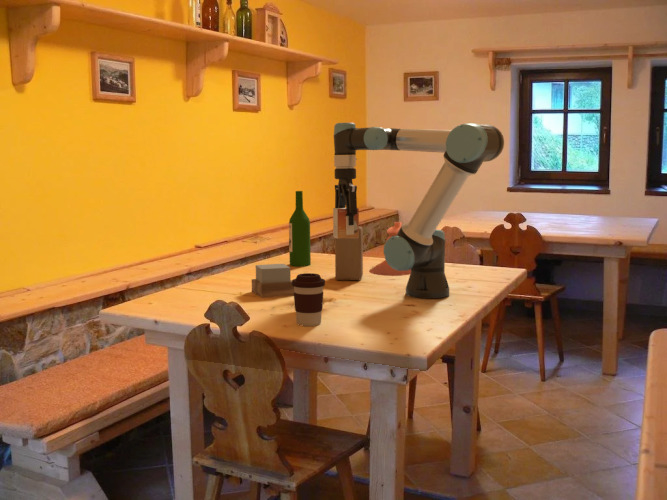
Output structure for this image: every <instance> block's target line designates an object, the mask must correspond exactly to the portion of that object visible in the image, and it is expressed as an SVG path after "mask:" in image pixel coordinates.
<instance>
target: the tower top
mask: <svg viewBox="0 0 667 500" xmlns="http://www.w3.org/2000/svg"><path fill="white" fill-rule="evenodd" d="M255 279H256V280H258V281H259V282H260V283H261V284H266V283H283V282H291V280H292V278H291V266H288V265H286V264H285V263H272V264H269V263H268V264H255Z"/></svg>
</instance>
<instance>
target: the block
mask: <svg viewBox="0 0 667 500" xmlns="http://www.w3.org/2000/svg"><path fill="white" fill-rule="evenodd" d="M363 229H364V228H363V226H361V225H359V238H339V239H337V238H334V253H335V255H334V262H335V263H334V265H335V269H334V270H335V271H334V273H335V275H334V276H335V277H334V278H335V280H337V281H361V280H362V278H363V275H364V271H363V270H364V258H363V257H364V255H363V252H364V249H363V248H364V245H363V243H364V240H363V236H364V235H363V234H364V233H363Z"/></svg>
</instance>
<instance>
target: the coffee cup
mask: <svg viewBox="0 0 667 500" xmlns="http://www.w3.org/2000/svg"><path fill="white" fill-rule="evenodd" d="M291 280H292V286H294V295H293V299H294V303H293V304H294V311H295V315H296V317H295V318H296V324H297V325H298V324H299V325H298V326H300V325H303V326H302V327H317V326H319V325H321V323H322V312H323V306H324V304H323V303H324V287H325V286H326V280H325V279H324V278H321V275H320V274H319V273H308V272H306V273H300V274H297V275H296V278H294V279H291ZM316 325H317V326H316Z"/></svg>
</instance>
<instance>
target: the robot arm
mask: <svg viewBox="0 0 667 500" xmlns="http://www.w3.org/2000/svg"><path fill="white" fill-rule="evenodd" d="M333 128H334V129H333V144H334V145H333V147H334V155H333V164H334V167H335V169H334V180H338V183H337V184H334V191H335V195H334V196H335V197H334V208H346V210H347V214H346V215H345V216H346V235H354V216H355V214H357V208H358V201H357V200H358V199H357V189H358V187H357V185H354V184H353V180H355V179H356V178H357V169H356V168H355V167H356V166H357V160H358V159H357V151H406V152H421V153H422V152H423V153H424V152H426V153H438V154H439V153H440V154H443V155H442V157H443V159H444V163H443V165H442V166H441V168H440V169H439V172H438V173H437V175H436V176H435V178H434V180H433V182H432V183H431V185H430V186H429V188H428V190H427V192H426V194H425V195H424V196H423V197H422V198H423V199H422V200H421V202H420V203H419V205H418V207H417V208H416V210H415V212H414V213H413V215H412V217H411V219H410V220H409V221H408V222H404V223H403V224H401V228H400V229H399V231H398V233H397V235H396V236H392V237H391V238H389V239H388V240H387V239H386V240H387V241H385V243H384V245H383V255H384V261H385V260H386V262H387V263H388V264H389V266H390V267H392V268H393V269H395V270H398V271H407V270H410V269H411V274H409V278H408V281H407V283H406V287H405V295H406V296H408V297H412V298H420V299H437V298H438V299H439V298H440V299H441V298H446V297H448V296H450V286H449V283H448V279H447V276H446V273H445V268H446V267H445V264H446V263H445V262H446V261H445V259H446V257H445V256H446V238H445V237H446V236H445V235H446V234H445V231H443V230H442V229H437V228H438V226H439V225H440V223H441V221H442V219H444V216H445V215H446V213H447V212H448V210H449V208H450V207H451V205H452V203H453V202H454V200H455V199H456V197H457V195H458V194H459V192H460V191H461V189H462V187H463V185H464V184H465V183H466V181H467V179H468V178H469V176H473V175H476V174H477V173H478V171H479V169H480V167H481V166H482V164H484V162H491V161H493V160H496V159H497V158H498V157H499V156H500V155H501V153H502V152H503V150H504V147H505V139H504V135H503V133H502V131H500V129H499V128H497V127H496V126H495V125H491V124H482V123H474V122H467V123H463V124H459V125H457V126H455V127H454V128H452V129H421V128H420V129H419V128H395V127H393V128H392V127H391V128H387V127H386V128H384V127H381V126H379V127H378V126H370V127H359V128H358V127H356V123H354V122H336V123H335V124H334V126H333Z"/></svg>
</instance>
